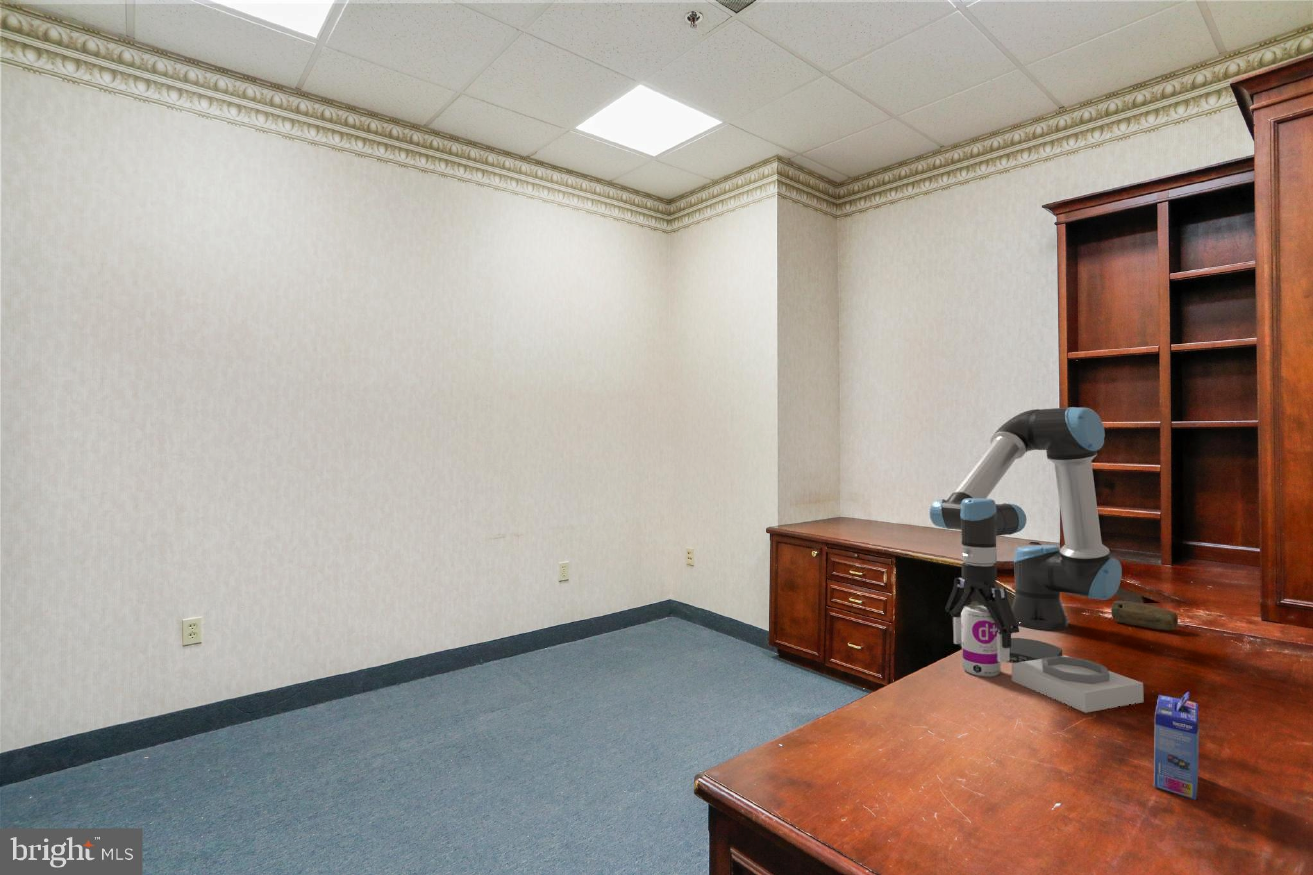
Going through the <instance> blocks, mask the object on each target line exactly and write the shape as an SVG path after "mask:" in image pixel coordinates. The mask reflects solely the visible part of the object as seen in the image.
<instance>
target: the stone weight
mask: <svg viewBox="0 0 1313 875" xmlns="http://www.w3.org/2000/svg"><path fill="white" fill-rule="evenodd" d="M1110 612H1111V617H1112V619H1113V620H1114V621H1115V622H1118V623H1121V624H1123V625H1124V624H1126V625H1129V626H1134V627H1138V628H1145V629H1151V630H1159V631H1174V630H1176V629H1177V628H1178V625H1179V617H1178V614H1177V613H1176V612H1174V611H1172V610H1170V609H1166V608H1164V607H1163V608H1162V607H1159V606H1154V605H1149V604H1144V603H1138V602H1135V601H1127V600H1115V601H1113V602H1112V606H1111V610H1110Z"/></svg>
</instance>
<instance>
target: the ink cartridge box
mask: <svg viewBox="0 0 1313 875" xmlns="http://www.w3.org/2000/svg"><path fill="white" fill-rule="evenodd" d="M1189 699H1190V691H1187V692H1186V693H1185V694H1184V695H1183V696H1182V697H1181V698H1177V697H1172V696H1168V695H1162V694H1159V695H1158V698H1157V700H1156V702H1157V704H1156V706H1155V712H1154V735H1153V736H1154V740H1153V741H1154V743H1153V744H1154V745H1153V747H1154V750H1153V751H1154V753H1153V755H1154V756H1153V757H1154V759H1153V767H1154V768H1153V787H1154V788H1156V789H1160V790H1163V791H1165V792H1169V793H1173V794H1176V795H1178V796H1182V797H1185V798H1188V799H1191V800H1194V801H1195V800H1196V799H1197V794H1198V781H1199V752H1200V751H1199V750H1200V749H1199V748H1200V747H1199V746H1200V745H1199V744H1200V742H1199V740H1200V734H1199V733H1200V727H1199V726H1200V725H1199V724H1200V723H1199V703H1197V702H1193V701H1191V700H1189Z"/></svg>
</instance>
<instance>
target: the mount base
mask: <svg viewBox="0 0 1313 875" xmlns="http://www.w3.org/2000/svg"><path fill="white" fill-rule="evenodd" d="M1011 681H1012V682H1014V683H1016V684H1019V685H1021V686H1022V687H1025V686H1026V687H1025V688H1026V689H1027V688H1028V689H1030V690H1033V691H1034V690H1035V692H1037V693H1039V692H1040V693H1039V694H1042V695H1043V694H1044V696H1046V695H1047V697H1049V698H1050V697H1051V698H1050V699H1052V700H1055V699H1056V700H1055V701H1057V700H1058V701H1057V702H1060V701H1061V702H1060V703H1062V704H1064V703H1065V704H1064V705H1066V704H1067V706H1068V707H1071V706H1072V707H1071V708H1074V709H1076V710H1078V711H1080V712H1082V713H1086V714H1087V713H1091V712H1096V711H1102V710H1108V708H1109V709H1113V708H1119V707H1118V706H1120V707H1126V706H1130V705H1129V704H1131V705H1136V704H1140V703H1145V701H1144V682H1142V681H1138V680H1136V679H1133V678H1130V677H1127V676H1125V675H1121V674H1119V673H1116V672H1113V671H1110V670H1108V669H1107V667H1106V666H1105V665H1103V664H1100V663H1097V662H1094V661H1092V660H1088V659H1085V658H1079V657H1073V656H1071V657H1070V656H1068V655H1062V656H1054V657H1047V658H1042V659H1038V660H1031V661H1024V662H1017V663H1015V662H1011ZM1135 703H1136V704H1135Z"/></svg>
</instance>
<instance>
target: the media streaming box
mask: <svg viewBox="0 0 1313 875" xmlns="http://www.w3.org/2000/svg"><path fill="white" fill-rule="evenodd" d="M1009 655H1010V661H1009V663H1017V662H1024V661H1031V660H1038V659H1042V658H1047V657H1054V656H1063V649H1062V648H1061V647H1059V646H1056V645H1054V644H1053V643H1052V644H1051V643H1049V642H1044V641H1040V640H1036V639H1029V638H1023V637H1011V648H1009Z"/></svg>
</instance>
